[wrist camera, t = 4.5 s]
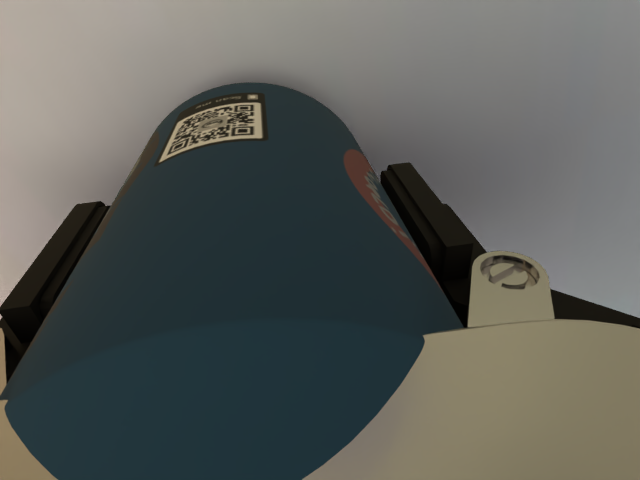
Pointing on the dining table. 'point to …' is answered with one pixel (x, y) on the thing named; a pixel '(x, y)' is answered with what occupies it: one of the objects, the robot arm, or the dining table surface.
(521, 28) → the dining table surface
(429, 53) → the dining table surface
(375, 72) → the dining table surface
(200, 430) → the soda can
